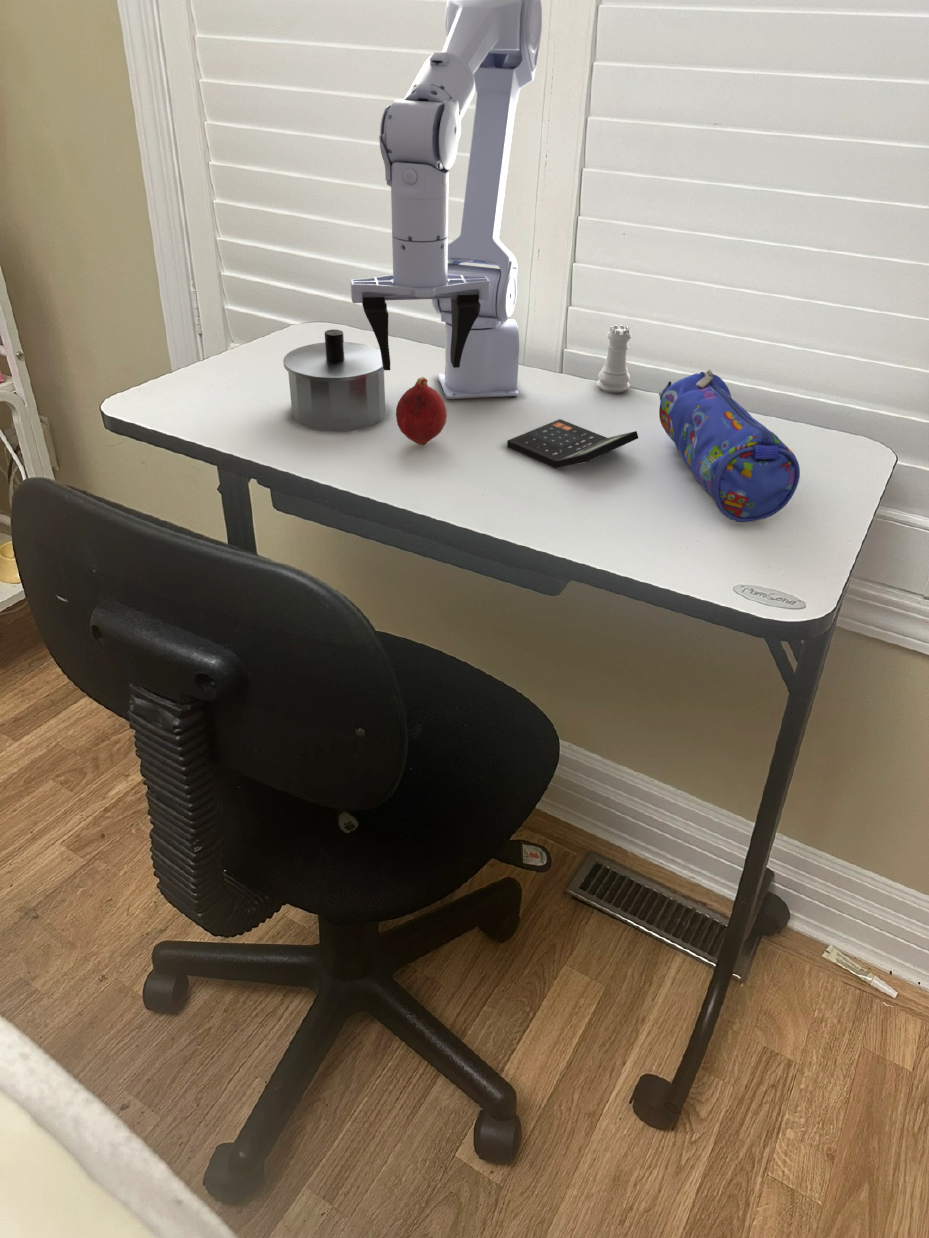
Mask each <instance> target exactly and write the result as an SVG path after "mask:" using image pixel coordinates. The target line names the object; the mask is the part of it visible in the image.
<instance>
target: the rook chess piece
mask: <svg viewBox="0 0 929 1238" xmlns="http://www.w3.org/2000/svg"><path fill="white" fill-rule="evenodd" d="M619 326H620V327H619V328H618V324H613V325H610V328H609V331H608V332H607V333H606V336H607V338H608V340H609V341H608V344H607V345H606V346H607V355H606V359H605V363H604V365H603V366H602V368H601V371H599V373H598V374H597V377H598V380H597V381H596V384H597V387H598V388H599V389H600V390H601V391H604V392H607V393H617V394H618V393H623V392H625V391H627V390H628V389H629V388H630V386H631V383H630V381H631V375H630V373H629V369H628V367H627V354H628V353H627V352H628V349H629V348H630V347H629V345H628V343H629V341H630V340H631V338H632V337H633V336H632V333H631V328H630V326H628V325H627V326H625V325H624V324H620V325H619Z"/></svg>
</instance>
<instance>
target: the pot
mask: <svg viewBox="0 0 929 1238" xmlns="http://www.w3.org/2000/svg"><path fill="white" fill-rule="evenodd" d="M287 372H288V371H287ZM288 383H289V392H290V395H289V396H290V404H291V405H290V406H291V415H292V418H293V420H294V421H295V422H296V423H297V424H298V425H300V426H303V427H305V428H306V429H307V428H308V429H310V430H314V431H321V432H333V433H339V432H341V433H342V432H351V431H357V430H362V429H366V428H370V427H371V426H373V425H376V424H378V423H379V422H380V421H382V419H383V418H384V416H385V414H386V392H385V370H384V369H383V370H382V371H380V372H379V373H377V374H375V375H372V376H369V377H366V378H361V379H356V380H350V381H332V382H331V381H316V380H309V379H305V378H301V377H298V376H295V375H293V374H291V373H289V372H288Z"/></svg>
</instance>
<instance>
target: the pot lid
mask: <svg viewBox="0 0 929 1238" xmlns="http://www.w3.org/2000/svg"><path fill="white" fill-rule="evenodd" d="M282 362H283V368H284V369H285V370H286V371H287V372H289V373H291V374H293V375H295V376H298V377H301V378H305V379H309V380H316V381H331V382H332V381H350V380H356V379H361V378H366V377H369V376H372V375H375V374H377V373H379V372H380V371H382V370H383V365H382V357H381V352H380V348H376V347H375V346H372V345H368V344H365V343H358V342H349V341H345V337H344V331H343V330H340V329H335V328H334V329H328V330H325V331H324V342H317V343H311V344H307V345H303V346H300V347H297V348H295V349H293V350H291V351H289V352H288V353H286V354H285V356H284V357H283V360H282Z"/></svg>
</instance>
